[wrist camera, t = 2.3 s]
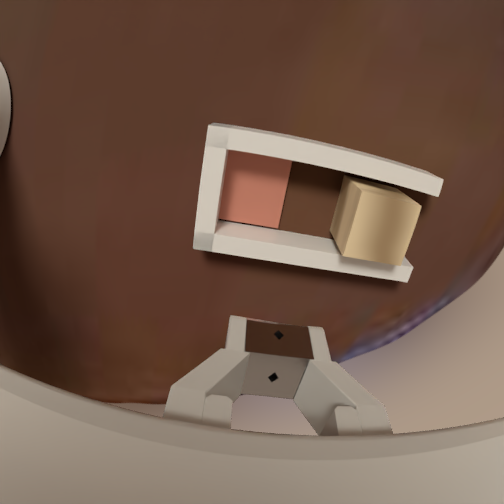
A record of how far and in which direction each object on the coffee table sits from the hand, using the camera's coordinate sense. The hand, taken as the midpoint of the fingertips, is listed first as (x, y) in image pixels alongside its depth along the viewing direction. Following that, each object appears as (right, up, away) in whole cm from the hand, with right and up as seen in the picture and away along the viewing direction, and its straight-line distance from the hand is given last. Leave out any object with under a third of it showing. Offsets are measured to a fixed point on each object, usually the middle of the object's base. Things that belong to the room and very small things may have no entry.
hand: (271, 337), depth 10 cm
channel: (+5, +7, +16) cm, 18 cm away
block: (+9, +6, +16) cm, 20 cm away
